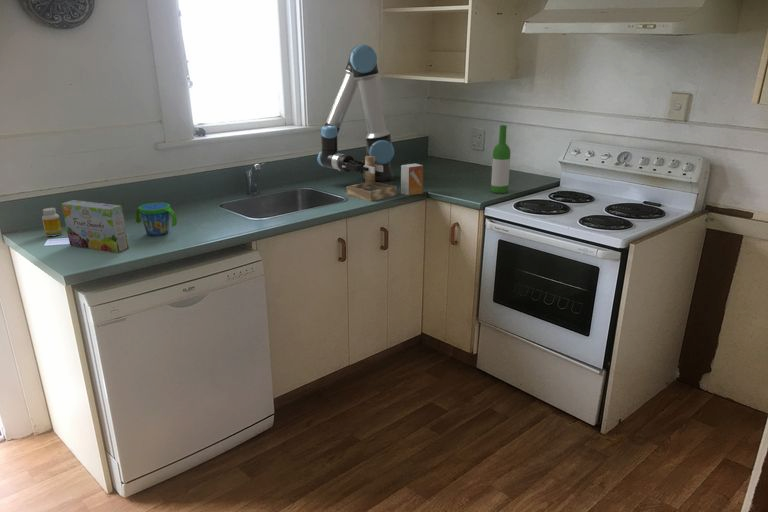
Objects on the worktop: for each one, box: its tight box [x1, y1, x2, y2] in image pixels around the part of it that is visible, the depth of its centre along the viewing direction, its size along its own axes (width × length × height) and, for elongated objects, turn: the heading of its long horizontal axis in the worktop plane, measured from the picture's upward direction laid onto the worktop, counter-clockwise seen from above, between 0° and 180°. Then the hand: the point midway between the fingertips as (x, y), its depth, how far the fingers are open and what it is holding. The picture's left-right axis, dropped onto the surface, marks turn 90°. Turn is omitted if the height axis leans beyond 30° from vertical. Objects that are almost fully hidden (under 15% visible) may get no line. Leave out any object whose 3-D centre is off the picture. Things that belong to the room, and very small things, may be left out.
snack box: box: [61, 199, 130, 254], centre depth 195 cm, size 21×6×15 cm, turn 69°
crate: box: [345, 182, 397, 202], centre depth 266 cm, size 16×16×4 cm
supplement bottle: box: [41, 207, 63, 237], centre depth 210 cm, size 5×5×10 cm
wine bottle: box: [490, 124, 511, 194], centre depth 266 cm, size 8×8×30 cm
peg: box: [364, 155, 375, 185], centre depth 262 cm, size 4×4×12 cm
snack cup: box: [134, 202, 178, 236], centre depth 211 cm, size 16×11×10 cm
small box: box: [400, 163, 424, 196], centre depth 267 cm, size 8×6×13 cm
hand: (378, 169), depth 259 cm, fingers closed on peg, 4 cm apart
